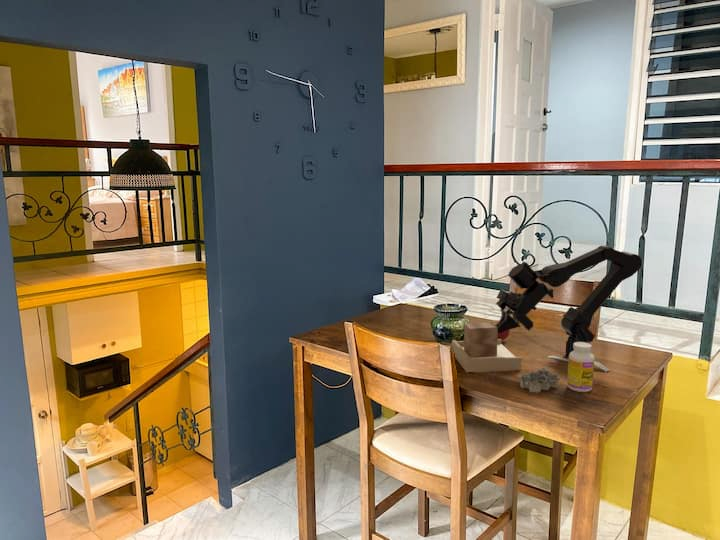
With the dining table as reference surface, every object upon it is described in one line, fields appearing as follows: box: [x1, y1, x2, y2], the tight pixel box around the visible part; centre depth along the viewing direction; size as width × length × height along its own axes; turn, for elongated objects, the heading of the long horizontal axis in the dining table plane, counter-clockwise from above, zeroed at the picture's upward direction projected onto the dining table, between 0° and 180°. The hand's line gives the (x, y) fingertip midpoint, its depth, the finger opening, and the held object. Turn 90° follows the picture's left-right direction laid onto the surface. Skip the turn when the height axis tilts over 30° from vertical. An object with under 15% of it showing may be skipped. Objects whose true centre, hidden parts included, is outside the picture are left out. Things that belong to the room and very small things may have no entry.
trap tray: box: [451, 339, 522, 374], centre depth 175 cm, size 17×18×5 cm
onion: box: [494, 322, 511, 342], centre depth 195 cm, size 6×6×8 cm
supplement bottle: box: [566, 342, 595, 393], centre depth 152 cm, size 7×7×13 cm
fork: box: [547, 355, 609, 373], centre depth 172 cm, size 3×21×3 cm, turn 43°
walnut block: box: [463, 321, 498, 358], centre depth 174 cm, size 9×6×10 cm, turn 95°
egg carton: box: [517, 367, 562, 393], centre depth 155 cm, size 11×8×4 cm
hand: (495, 332), depth 174 cm, fingers closed
